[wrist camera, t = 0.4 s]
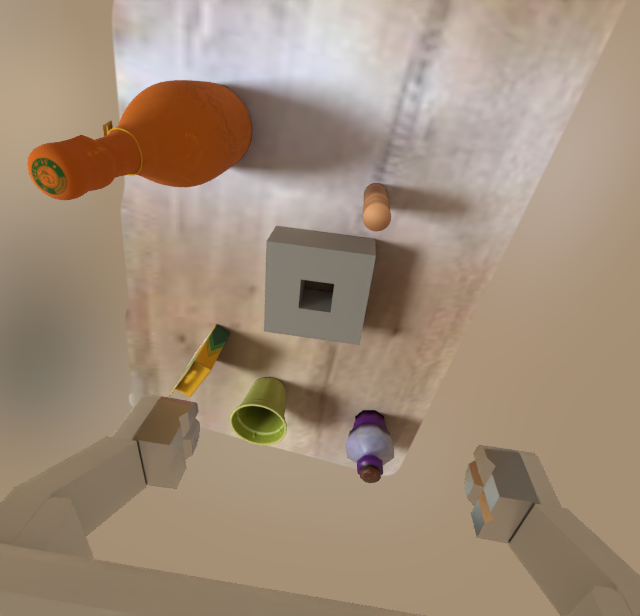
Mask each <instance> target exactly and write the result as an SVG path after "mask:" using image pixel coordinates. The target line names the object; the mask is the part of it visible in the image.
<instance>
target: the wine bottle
mask: <svg viewBox="0 0 640 616" xmlns="http://www.w3.org/2000/svg"><path fill="white" fill-rule="evenodd" d="M103 129H104V137H102V138H99V139H96V140H93V139H91V138H89V137H86V136H83V135H80V136H77V137H75V138H72V139H69V140H65V141H61V142H55V143H47V144H43V145H41V146H39V147H37V148H35V149H34V150H33V151H32V152H31V153H30V155H29V157H28V170H29V175H30V177H31V179H32V181H33V182H34V184H35V185H36V186H37V187H38V188H39V189H40V190H41V191H42V192H43V193H45V194H47V195H48V196H50V197H52V198H55V199H59V200H71V199H75V198H78V197H80V196H82V195H83V194H85V193H87V192H88V191H92V190H97V189H101V188H104V187H106V186H108V185H109V184H110V183H111V182H112V181H113V180H114V178H115V177H118V176H123V175H130V176H133V175H140V176H142V177H144V178H146V179H149V180H151V181H153V182H156V183H159V184H163V185H167V186H173V187H192V186H197V185H201V184H203V183H206V182H208V181H210V180H212V179H214V178H215V177H217V176H219V175H220V174H222V173H223V172H225V171H226V170H227V169H229V168H230V167H232V166H233V165H234V164H236V163H237V162H238V161H239V160H240V159H241V158H242V157H243V156H244V154H245V153H246V151H247V150H248V147H249V145H250V142H251V136H252V125H251V120H250V116H249V113H248V111H247V109H246V107H245V105H244V104H243V102H242V101H241V99H240V98H239V97H238V96H237V95H236V94H235V93H234V92H232V91H231V90H230V89H228V88H226V87H224V86H222V85H220V84H216V83H211V82H203V81H188V80H175V81H166V82H161V83H157V84H155V85H152V86H150V87H148V88H146V89H145V90H143V91H142V92H141V93H140V94H138V95H137V96H136V97H135V98H134V99H133V100H132V102H131V103H130V104H129V105H128V107H127V108H126V110H125V112H124V113H123V115H122V118H121V120H120V122H119V125H118V126H117V127H116V128H112V121H109V122H108V123H106V124H105V125H103Z"/></svg>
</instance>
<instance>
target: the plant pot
mask: <svg viewBox="0 0 640 616" xmlns="http://www.w3.org/2000/svg"><path fill="white" fill-rule="evenodd" d="M285 400H286V390H285V386H284V385H283V384H282V383H281V382H280V381H279V380H277V379H274V378H260V379H258V380H257V381H256V382H255V383H254V385H253V386H252V388H251V390H250V391H249V393H248V394H247V396H246V398H245V399H244V401H243V402H242V404H241V405H240V406H239V407H237V408H236V409H235V410H234V411H233V412H232V414H231V417H230V425H231V427H232V429H233V431H234V432H235V433H236V434H237V435H238V436H239V437H240V438H242V439H244V440H245V441H247V442H250V443H253V444H257V445H271V444H275V443H277V442H279V441H281V440H282V439H283V438H284V436H285V434H286V430H287V426H286V422H285V417H284V413H285Z"/></svg>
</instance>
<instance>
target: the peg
mask: <svg viewBox="0 0 640 616" xmlns="http://www.w3.org/2000/svg"><path fill="white" fill-rule="evenodd" d="M363 221H364V224H365V226H366V227H367V228H368V229H370V230H372V231H381V230H383V229H385V228H386V227H387V226H388V225H389V223H390V221H391V213H390V208H389V202H388V196H387V191H386V189H385V187H384V186H383V185H381V184H379V183H373V184H371V185H369V186H368V187H367V188H366V190H365V192H364V209H363Z"/></svg>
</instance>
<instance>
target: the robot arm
mask: <svg viewBox="0 0 640 616" xmlns="http://www.w3.org/2000/svg"><path fill="white" fill-rule="evenodd" d="M197 413H198V405H197V403H195V402H190V401H185V400H179V399H174V398H168V397H161V396H155V395H149V394H145V395H144V396H142V397H141V398H140V399H139V401H138V402H137V403H136V405H135V406H134V407H133V409H132V410H131V412H130V413H129V415H128V416H127V417H126V419H125V420H124V421H123V423H122V424H121V426H120V427H119V428H118V430H117V431H116V432H115V434H114V435H113V436H112V437H108V436H107V437H105V438H103V439H101V440H100V441H98V442H96V443H94V444H92V445H91V446H89V447H87V448H85V449H83V450H81V451H80V452H78V453H76V454H74V455H72V456H71V457H69V458H67V459H65V460H63V461H62V462H60V463H58V464H56V465H55V466H53V467H51V468H49V469H47V470H45V471H44V472H42V473H40V474H38V475H36V476H35V477H33V478H31V479H29V480H27V481H26V482H24V483H22V484H20V485H18V486H17V487H15V488H14V489H13V490H12V491H11V492H10V493H9V494H8V495H7V496H6V498H5V499H4V500H3V501H2V502H1V503H0V616H424V615H417V614H412V613H407V612H400V611H395V610H389V609H383V608H377V607H372V606H366V605H360V604H354V603H348V602H342V601H336V600H331V599H325V598H319V597H312V596H307V595H301V594H295V593H289V592H284V591H278V590H272V589H266V588H259V587H254V586H248V585H243V584H237V583H231V582H225V581H219V580H213V579H207V578H201V577H196V576H189V575H184V574H178V573H172V572H166V571H160V570H154V569H149V568H143V567H137V566H131V565H125V564H119V563H113V562H108V561H101V560H96V559H93V555H92V551H91V549H90V546H89V544H88V541H87V539H86V536H87V535H88V534H90V533H91V532H92V531H93V530H95V529H96V528H97V527H98V526H99V525H101V524H102V523H103V522H104V521H105V520H106V519H108V518H109V517H110V516H112V515H113V514H114V513H115V512H116V511H118V510H119V509H120V508H121V507H122V506H124V505H125V504H126V503H127V502H128V501H130V500H131V499H132V498H133V497H135V496H136V495H137V494H138V493H139V492H141V491H142V490H143V489H144V488H146V485H151V486H158V487H166V488H173V489H177V486H178V484H179V482H180V480H181V478H182V476H183V474H184V471H185V469H186V462H185V460H186V459H187V458H189V457H190V456H191V455H193V453H194V450H195V448H196V446H197V442H198V438H199V432H200V424H199V421H198V420H197V419H196V418H195V417H196V415H197ZM474 457H475V461H473V462H471V463H470V464H469V465H468V467H467V470H466V473H465V490H466V495H467V498H468V499H469V501H470V502H471V503H472V504H473V505H474V508H473V510H472V512H471V516H472V520H473V524H474V528H475V532H476V536H477V538H482V539H488V540H493V541H498V542H504V543H509V547H510V548H511V549H512V551H513V552H514V553H515V555H516V556H517V557H518V559H519V560H520V561H521V563H522V564H523V566H524V567H525V568H526V569H527V571H528V572H529V574H530V575H531V576H532V577H533V579H534V580H535V582H536V583H537V584H538V586H539V587H540V588H541V590H542V591H543V593H544V594H545V595H546V596H547V598H548V599H549V601H550V602H551V603H552V605H553V606H554V607H555V609H556V610H557V611H558V613H559V614H560V615H561V616H640V575H639V574H638V573H637V572H635V571H634V570H633V569H632V568H631V567H630V566H629V565H628V564H627V563H626V562H625V561H624V560H622V559H621V558H620V557H619V556H618V555H617V554H616V553H615V552H614V551H613V550H612V549H611V548H609V547H608V546H607V545H606V544H605V543H604V542H603V541H602V540H601V539H600V538H599V537H597V535H595V534H594V533H593V532H592V531H591V530H590V529H589V528H588V527H587V526H586V525H585V524H584V523H583V522H581V521H580V520H579V519H578V518H577V517H576V516H575V515H574V514H573V513H572V512H570V510H569V509H566V508H562V507H561V505H560V502H559V500H558V498H557V496H556V494H555V492H554V490H553V487H552V486H551V483H550V481H549V479H548V477H547V475H546V473H545V470H544V468H543V466H542V464H541V462H540V460H539V458H538V456H537V455H536V454H535V453H530V452H524V451H516V450H511V449H503V448H497V447H490V446H483V445H479V446H478V447H477V448H476V450H475V452H474Z"/></svg>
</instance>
